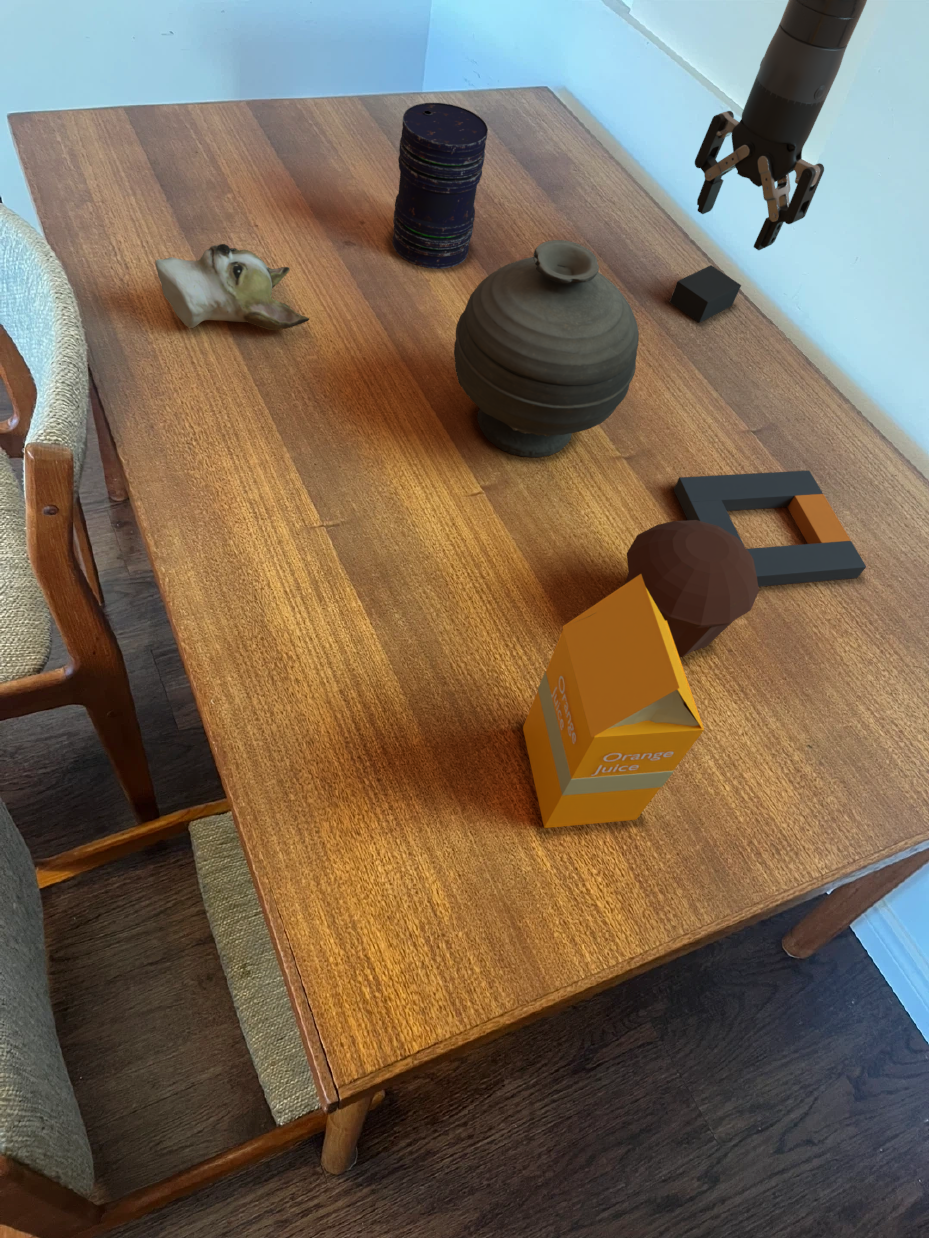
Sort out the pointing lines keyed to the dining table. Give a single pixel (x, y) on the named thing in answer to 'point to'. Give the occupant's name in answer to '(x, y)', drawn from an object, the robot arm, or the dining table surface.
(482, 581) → the dining table surface
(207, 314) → the ceramic sculpture
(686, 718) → the orange juice
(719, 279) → the black block
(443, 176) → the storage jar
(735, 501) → the socket pad
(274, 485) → the dining table surface
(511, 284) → the pot
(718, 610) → the muffin
